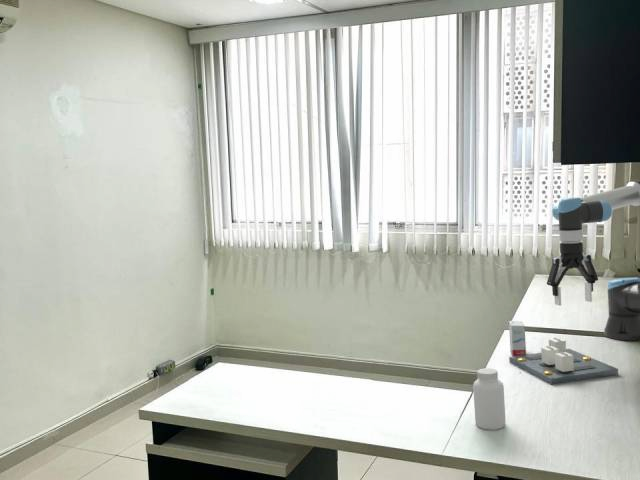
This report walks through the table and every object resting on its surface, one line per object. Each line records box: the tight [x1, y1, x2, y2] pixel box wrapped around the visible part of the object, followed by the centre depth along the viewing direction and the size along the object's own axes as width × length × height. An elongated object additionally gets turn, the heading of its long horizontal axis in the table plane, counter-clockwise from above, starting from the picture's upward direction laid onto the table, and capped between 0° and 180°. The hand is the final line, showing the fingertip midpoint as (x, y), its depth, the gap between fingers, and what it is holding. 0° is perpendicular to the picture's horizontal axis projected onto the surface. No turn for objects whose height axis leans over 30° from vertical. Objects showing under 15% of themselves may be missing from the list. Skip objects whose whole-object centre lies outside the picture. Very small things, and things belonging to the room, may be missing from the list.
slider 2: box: [540, 345, 559, 365], centre depth 204 cm, size 4×4×5 cm
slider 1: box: [548, 337, 567, 353], centre depth 213 cm, size 4×4×5 cm
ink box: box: [508, 320, 527, 357], centre depth 224 cm, size 9×5×12 cm, turn 168°
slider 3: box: [555, 352, 574, 372], centre depth 196 cm, size 4×4×5 cm
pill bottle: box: [472, 367, 506, 431], centre depth 163 cm, size 8×8×15 cm
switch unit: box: [508, 348, 619, 386], centre depth 205 cm, size 24×26×2 cm
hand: (573, 302), depth 214 cm, fingers open, 11 cm apart
